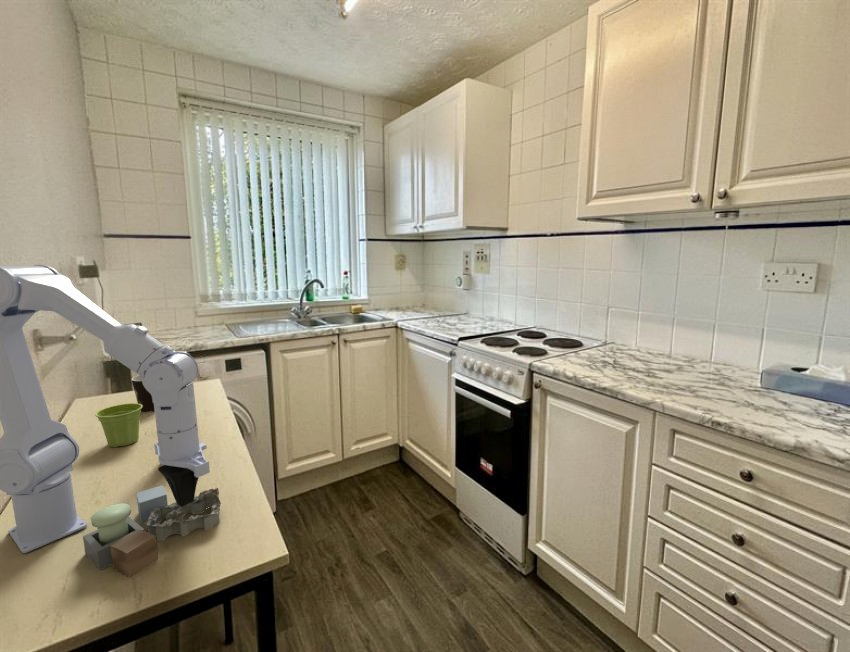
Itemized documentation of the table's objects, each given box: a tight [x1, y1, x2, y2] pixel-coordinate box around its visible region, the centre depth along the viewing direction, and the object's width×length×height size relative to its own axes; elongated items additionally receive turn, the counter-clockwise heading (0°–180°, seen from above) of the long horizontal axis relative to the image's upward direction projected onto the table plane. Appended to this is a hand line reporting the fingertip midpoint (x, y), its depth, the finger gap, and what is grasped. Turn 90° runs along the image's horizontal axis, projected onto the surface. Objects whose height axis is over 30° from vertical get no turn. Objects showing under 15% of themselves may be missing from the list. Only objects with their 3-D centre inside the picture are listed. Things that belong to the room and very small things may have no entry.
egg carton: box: [145, 487, 222, 543], centre depth 70 cm, size 11×8×4 cm
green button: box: [90, 503, 132, 546], centre depth 63 cm, size 5×5×4 cm
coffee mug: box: [131, 375, 155, 413], centre depth 124 cm, size 12×9×10 cm
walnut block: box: [110, 529, 159, 579], centre depth 60 cm, size 4×4×4 cm
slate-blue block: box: [136, 484, 169, 525], centre depth 72 cm, size 4×4×4 cm
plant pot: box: [94, 402, 143, 448], centre depth 101 cm, size 9×9×9 cm
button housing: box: [82, 515, 145, 571], centre depth 63 cm, size 6×6×3 cm
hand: (185, 502), depth 69 cm, fingers closed
